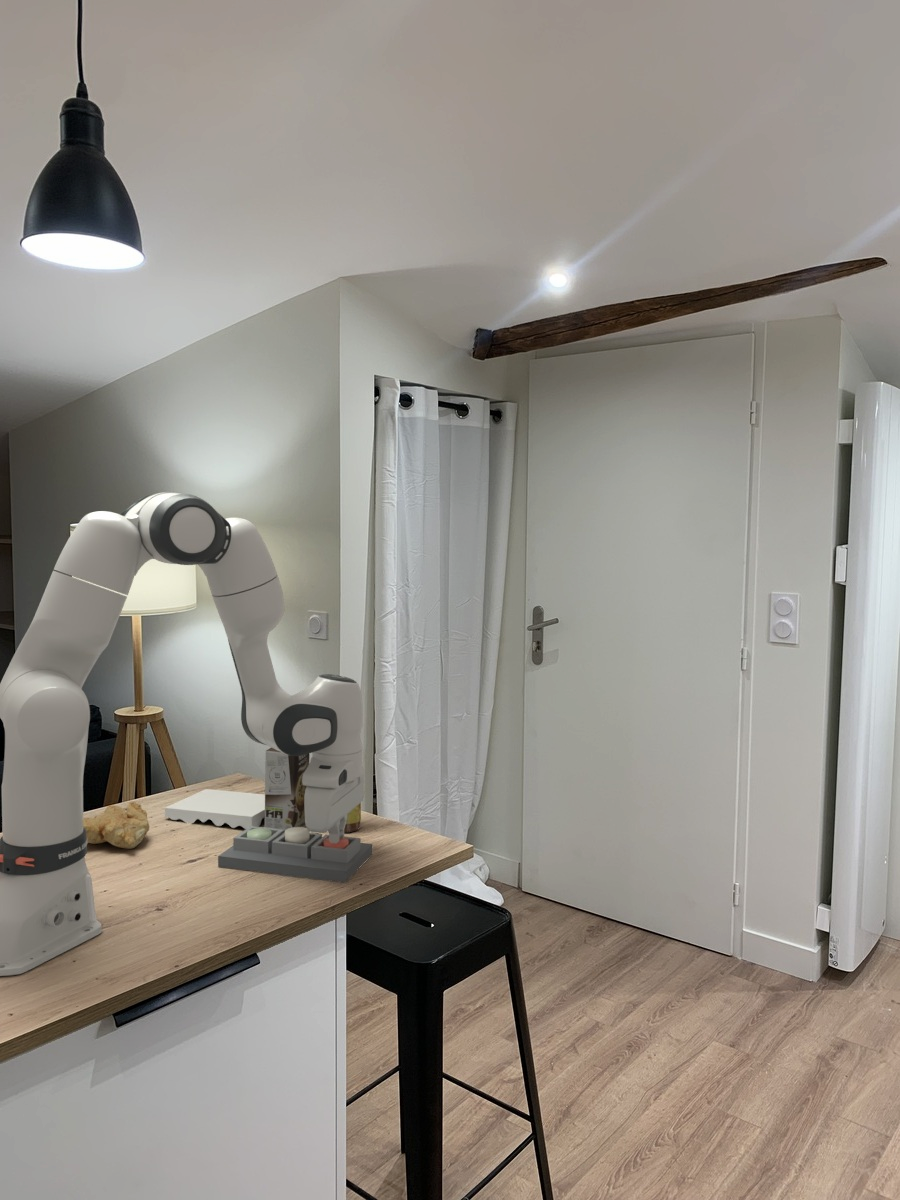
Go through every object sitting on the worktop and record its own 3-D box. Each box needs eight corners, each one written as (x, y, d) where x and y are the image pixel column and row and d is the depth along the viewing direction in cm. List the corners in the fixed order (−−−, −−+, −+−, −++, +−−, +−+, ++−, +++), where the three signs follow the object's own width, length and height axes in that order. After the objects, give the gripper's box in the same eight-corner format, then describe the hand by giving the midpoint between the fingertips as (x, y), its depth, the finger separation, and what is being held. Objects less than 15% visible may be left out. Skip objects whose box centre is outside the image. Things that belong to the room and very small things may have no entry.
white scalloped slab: (165, 824, 188) (252, 833, 181) (164, 807, 187) (251, 816, 181) (206, 804, 202) (287, 812, 196) (205, 788, 202) (287, 796, 195)
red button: (343, 858, 162) (343, 846, 162) (319, 855, 163) (320, 843, 163) (351, 849, 166) (352, 838, 166) (329, 847, 168) (329, 835, 167)
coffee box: (294, 832, 182) (294, 752, 180) (263, 829, 183) (263, 750, 181) (310, 818, 190) (311, 741, 189) (280, 815, 192) (281, 739, 190)
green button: (264, 849, 166) (264, 837, 166) (242, 846, 167) (242, 834, 167) (275, 841, 170) (275, 829, 170) (253, 838, 171) (253, 827, 171)
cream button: (303, 848, 164) (303, 836, 164) (280, 845, 165) (280, 833, 165) (313, 840, 168) (313, 828, 168) (290, 837, 169) (291, 826, 169)
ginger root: (112, 858, 163) (105, 812, 163) (55, 861, 171) (49, 818, 171) (179, 836, 176) (172, 794, 177) (123, 840, 184) (117, 800, 185)
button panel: (345, 882, 157) (345, 858, 157) (218, 866, 163) (218, 843, 163) (372, 854, 171) (372, 832, 170) (253, 840, 177) (253, 819, 176)
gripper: (341, 749, 174) (340, 820, 176) (297, 778, 155) (297, 858, 156) (373, 752, 173) (372, 824, 174) (333, 781, 153) (332, 862, 154)
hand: (336, 840), depth 165 cm, fingers closed, pressing on red button
